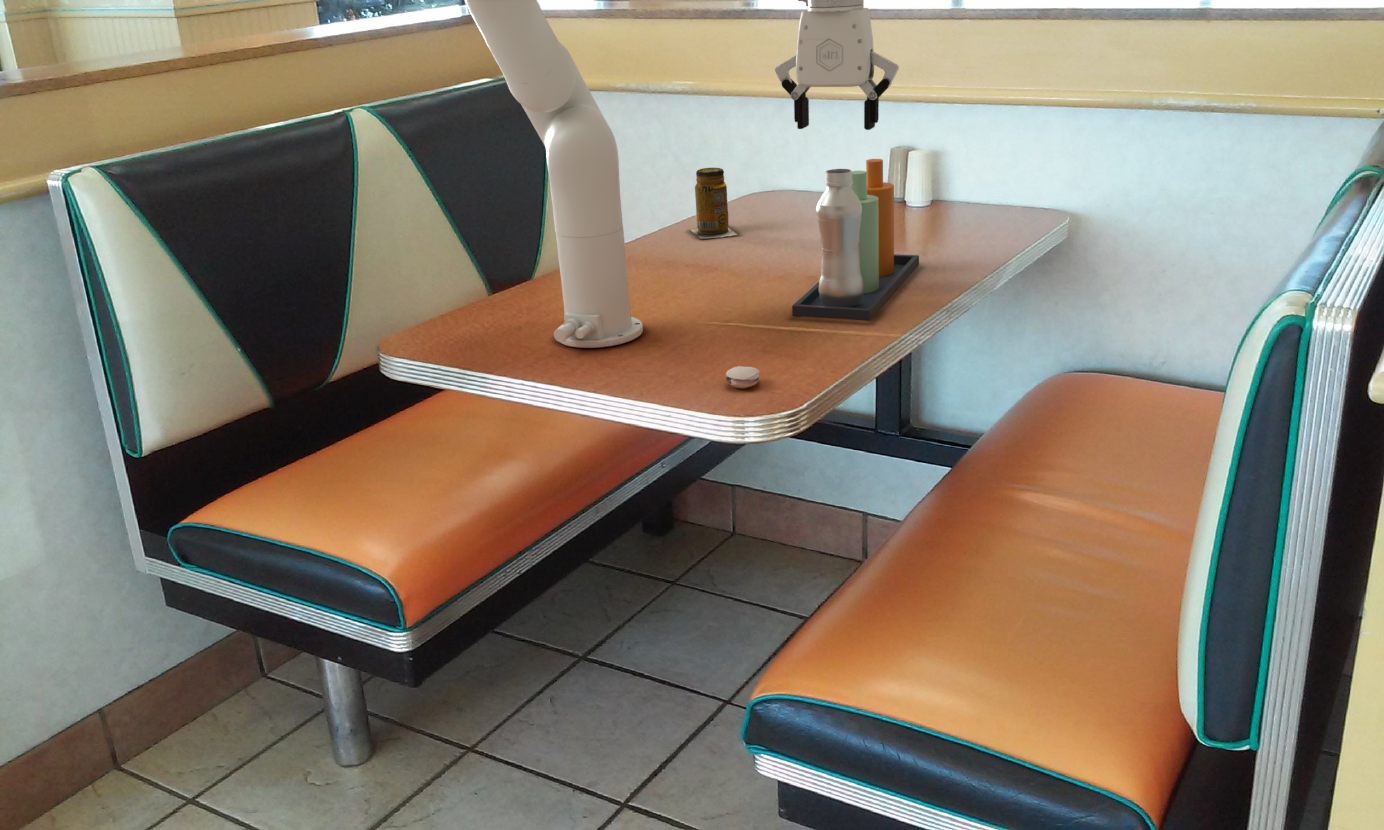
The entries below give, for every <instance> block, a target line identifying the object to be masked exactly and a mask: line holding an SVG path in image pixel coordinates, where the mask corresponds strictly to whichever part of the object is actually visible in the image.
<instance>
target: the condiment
mask: <svg viewBox="0 0 1384 830" xmlns="http://www.w3.org/2000/svg"><path fill="white" fill-rule="evenodd" d="M724 173H725V172H724V169H723V168H721V167H705V168H699V169H697V170H696V172H695V176H696V177H695V178H696V180H695V181H696V184H695V186H694V196H695V212H696V214H695V215H696V228H691V229H690V232H692V233H693V234H694V235H696V237H697V238H699V239H705V240H706V239H715V238H725V237H732V236H738V234H737V232H735V231H734V230H732V229H731V228H730V227H729V207H728V187H727V183H726V181H725V174H724Z"/></svg>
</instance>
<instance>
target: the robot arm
mask: <svg viewBox="0 0 1384 830" xmlns="http://www.w3.org/2000/svg"><path fill="white" fill-rule="evenodd" d="M797 1H798V2H803V3H805V6H806V7H807V9H806V10H805V9H804V10H802V11H801V12H800V18H799V24H798V32H797V42H796V43H797V44H796V55H794V56H792V57H791V58H789V59H787V60H785V61H784V62H782V63H780V64H779V65H777V66H776V67H775V68H774V71H775V74H776V76H777V78H778V80H779V81H780V84H781V88H783V89H784V90H785V91H786V93H787V94H788V95H789V96H790V98H791V100H793V117H794V118H793V119H794V122H795V123H797V126H796V127H797V130H803V129H805V128H807V127H809V126H810V100H809V98H808V97H807V93H808V92H809V90H810V89H811V88H851V87H852V88H853V87H854V88H855V87H859V88H860V89H861V90H862V92H863V93H864V94H865V95H866V100H864V102H863V128H864V130H866V131H871V130H872V129H874V128H875V127H876V124H877V123H879V115H880V114H879V112H880V111H879V110H880V109H879V105H880V104H879V103H880V101H879V99H880V97H881V96H882V95H883V94H884V93H885V92H886V91H887V90H888V89H889V88H890V87H891V85H892V83H893V81H894V79H895V77H896V75H897V73H898V71H899V69H900V67H899V65H898V64H897V63H895V62H894V61H891V60H889V59H888V58H886V57H884V56H883V55H880V54H878V53H877V52H875V49H874V38H873V37H874V36H873V30H872V28H873V27H872V23H871V22H872V21H871V16H870V11H869V8H868V7H864V6H865V5H864V3H865V2H864V1H865V0H797ZM464 2H465V4H466V7H467V9H468V11H469V13H470V15H471V17H472V19H473V21H474V23H475V25H476V26H477V29H478V30H479V32H480V34H481V36H482V37H483V40H484V42H485V44H486V46H487V48H488V49H489V52H490V53H491V55H492V56H493V58H494V60H495V62H496V64H497V65H498V67H499V69H500V71H501V74H502V75H503V77H504V79H505V82H506V85H507V88H508V90H509V91H510V94H511V95H512V96H513V98H514V99H515V100H516V101H517V102H518V103H519V104H520V105H521V107H522V109H523V110H524V112H525V114H526V116H527V117H528V119H529V121H530V122H531V124H532V126H533V128H534V130H535V131H536V133H537V135H538V137H539V138H540V140H541V142H542V144H543V146H544V147H545V154H546V155H545V157H546V164H547V172H548V179H549V180H548V181H549V187H550V195H551V197H550V198H551V206H552V216H553V223H554V225H553V226H554V231H555V238H556V247H557V256H558V262H559V263H558V265H559V272H560V273H559V274H560V283H561V291H562V292H561V293H562V300H563V309H564V313H563V320H564V322H563V323H562V324H561V325H559V326H558V328H556V329H554V331H553V338H554V340H555V341H556V342H559V343H560V344H562V345H564V346H567V347H572V348H579V349H583V348H584V349H599V348H609V347H614V346H619V345H622V344H626V343H628V342H632V341H633V340H635V339H637V338H639V337H640V336H641V335H642V334H643V332H644V326H643V322H642V321H641V320H640V319H639V318H636V317H634V316H632V309H631V299H630V287H629V277H628V267H627V255H626V244H625V232H624V231H625V230H624V224H623V211H622V201H621V199H622V198H621V185H620V183H621V182H620V162H619V160H620V159H619V151H618V150H619V149H618V146H617V141H616V138H615V135H614V133H613V130H612V129H611V127H610V125H609V123H608V121H607V120H606V118H605V116H604V114H603V113H602V111H601V109H600V107H599V105H598V103H597V102H596V100H595V98H594V96H593V94H592V92H591V91H590V88H589V86H588V85H587V83H586V82H585V79H584V78H583V76H582V74H581V72H580V70H579V68H578V67H577V64H576V62H575V61H574V59H573V56H572V55H571V53H570V52H569V50H568V49H567V47H565V45H564V44H563V43H562V42H560V41H559V39H558V37H557V35H556V34H555V32H554V31H553V29H552V27H551V25H550V23H549V21H548V20H547V18H546V16H545V14H544V12H543V10H542V8H541V6H540V3H539V2H538V0H464ZM875 66H876V67H877V68H880V69H881V70H883V71H884V75H883V77H882V79H881V80H880V81H879V82H878V84H876V82H875V81H874V79H873V78H874V76H875ZM794 68H795V78H796V82H797V83H796V82H795V81H794V80H793V79H792V78H791V75H790V70H792V69H794Z"/></svg>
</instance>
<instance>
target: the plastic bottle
mask: <svg viewBox="0 0 1384 830" xmlns="http://www.w3.org/2000/svg"><path fill="white" fill-rule="evenodd" d="M824 175H825V180H824V185H825V186H826V189H825V190H824V191H823V193H822V195H821V196H820V198H819V199H818V201H817V204H816V206H815V207H816V208H815V213H816V220H817V224H818V231H819V236H820V245H821V248H820V249H821V260H820V261H821V262H820V276H819V279H818V280H819V281H818V282H819V295H820V299H821V301H822V302H823V303H824V305H826V306H832V307H851V306H855V305H858V304H859V303H860V302H861V300H862V298H863V294H864V284H863V278H862V274H861V269H860V259H859V245H858V243H859V231H860V223H861V214H862V206H861V203H860V200H859V198H858V197H857V195H856V194H855V192H854V191H853V190H852V189H851V186H850V184H852V170H851V169H849V168H831V169H827V170H826V171H825V174H824Z"/></svg>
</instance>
